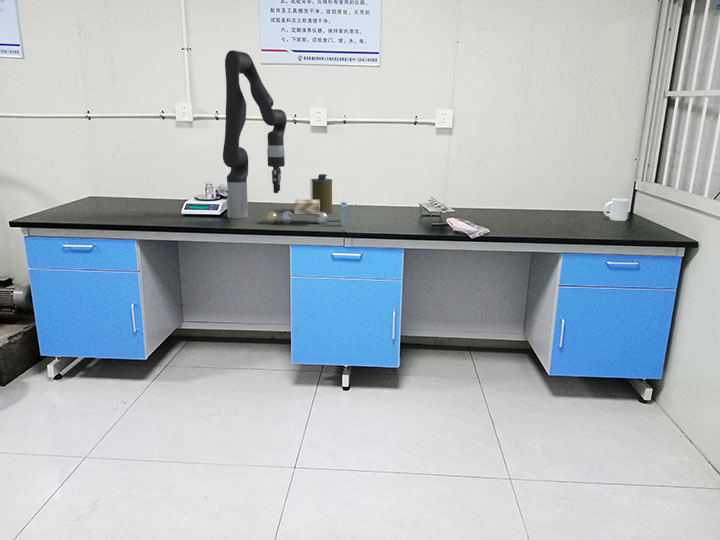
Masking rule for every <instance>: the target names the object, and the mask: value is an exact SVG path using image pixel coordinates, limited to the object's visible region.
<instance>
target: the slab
mask: <svg viewBox="0 0 720 540" xmlns="http://www.w3.org/2000/svg"><path fill="white" fill-rule="evenodd" d="M293 207H294V215H314V214H319V212H320V200H312V199H295V201H294V206H293Z"/></svg>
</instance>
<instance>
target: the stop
mask: <svg viewBox="0 0 720 540" xmlns="http://www.w3.org/2000/svg"><path fill="white" fill-rule="evenodd" d="M340 222H341V224H340V226H341V227H347V226H348V224H347V223H348V205H347V201H340Z"/></svg>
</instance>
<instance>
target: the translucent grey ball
mask: <svg viewBox="0 0 720 540" xmlns="http://www.w3.org/2000/svg"><path fill="white" fill-rule="evenodd" d="M315 219H316V220H315V221H316V222H317V224H318V225H324V224H326V223H327V221H328V215H327V214H326V213H325V212H323V211H321V212H319V214H317V215H316V216H315Z"/></svg>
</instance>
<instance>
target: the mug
mask: <svg viewBox="0 0 720 540" xmlns="http://www.w3.org/2000/svg"><path fill="white" fill-rule="evenodd" d="M608 206H610V207H609V212H607V208H608ZM629 207H630V199H627V198H621V197H620V198H617V197H616V198H615V197H614V198H611V200H610V201H609V202H606V203H605V205H604V206H603V209H602V210H603V211H602V213H603V214H604V216H606V217H608V219H609V220H610V221H615V222H625V221H627V220H628V215H629Z"/></svg>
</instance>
